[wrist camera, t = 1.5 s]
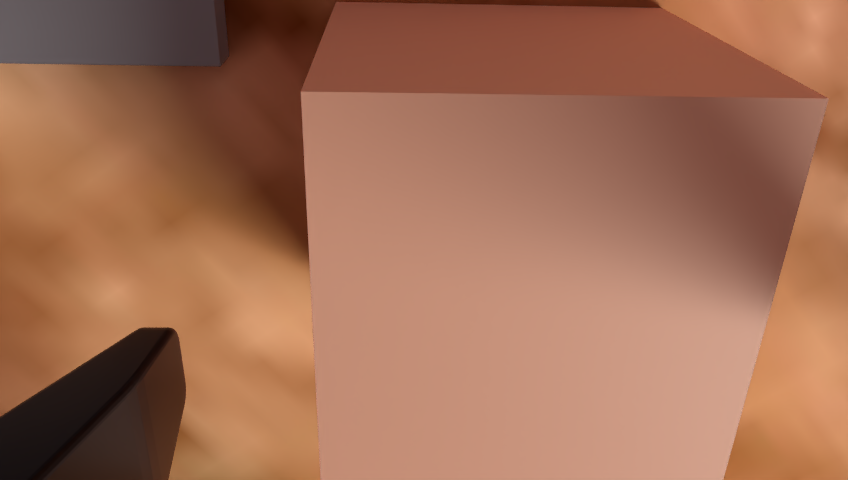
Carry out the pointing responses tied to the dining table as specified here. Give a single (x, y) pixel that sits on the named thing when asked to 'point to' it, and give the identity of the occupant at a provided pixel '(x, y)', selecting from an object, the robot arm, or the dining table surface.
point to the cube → (541, 239)
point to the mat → (114, 32)
